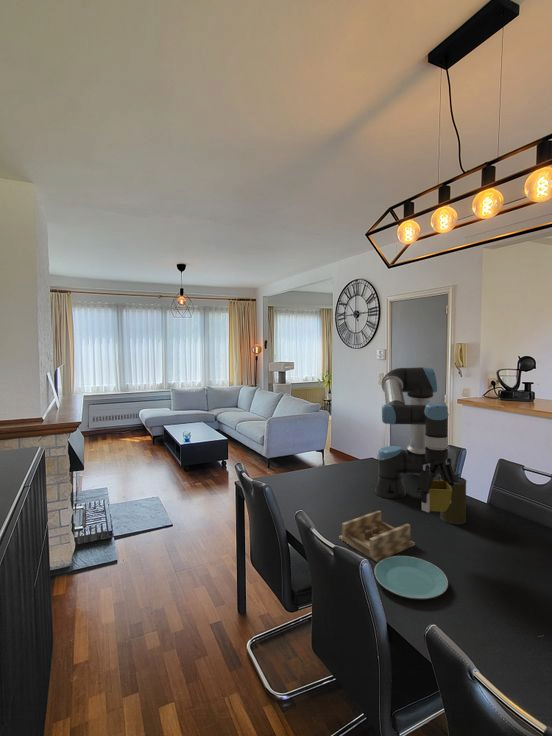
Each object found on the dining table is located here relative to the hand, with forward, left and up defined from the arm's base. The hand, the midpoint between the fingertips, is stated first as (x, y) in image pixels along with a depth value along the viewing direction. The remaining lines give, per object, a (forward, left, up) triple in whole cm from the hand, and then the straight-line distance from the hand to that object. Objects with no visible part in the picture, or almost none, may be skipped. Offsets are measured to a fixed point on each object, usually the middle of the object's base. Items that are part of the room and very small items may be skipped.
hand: (436, 506), depth 139 cm
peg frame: (+12, -18, -17) cm, 28 cm away
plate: (+22, +6, -18) cm, 29 cm away
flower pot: (0, 0, -1) cm, 1 cm away
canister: (-29, -13, -17) cm, 36 cm away
